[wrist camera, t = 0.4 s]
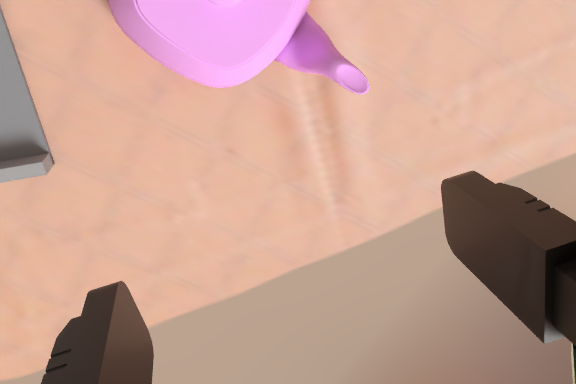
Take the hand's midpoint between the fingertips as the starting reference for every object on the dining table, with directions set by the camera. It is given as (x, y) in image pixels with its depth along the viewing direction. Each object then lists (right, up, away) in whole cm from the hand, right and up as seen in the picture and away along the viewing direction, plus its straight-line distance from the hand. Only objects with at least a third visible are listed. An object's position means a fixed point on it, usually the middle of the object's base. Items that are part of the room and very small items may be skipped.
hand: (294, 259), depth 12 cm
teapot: (-5, +17, +24) cm, 29 cm away
